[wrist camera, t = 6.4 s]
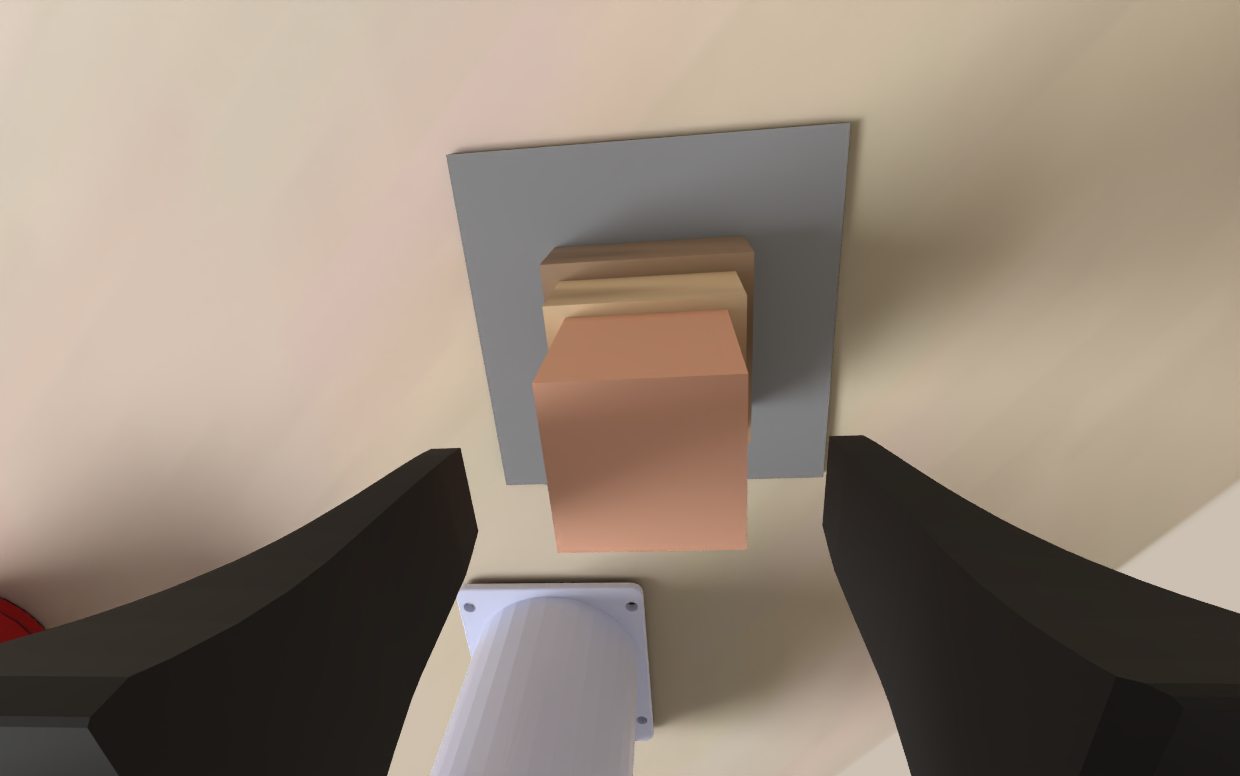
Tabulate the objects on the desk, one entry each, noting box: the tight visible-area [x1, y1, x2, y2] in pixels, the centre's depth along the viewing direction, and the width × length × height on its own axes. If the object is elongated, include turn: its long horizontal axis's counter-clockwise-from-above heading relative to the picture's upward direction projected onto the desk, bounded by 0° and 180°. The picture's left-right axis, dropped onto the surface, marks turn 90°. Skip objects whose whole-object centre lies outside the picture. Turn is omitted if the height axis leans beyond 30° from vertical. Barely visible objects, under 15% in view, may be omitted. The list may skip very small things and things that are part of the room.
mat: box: [446, 123, 851, 485], centre depth 20 cm, size 12×12×1 cm
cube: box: [532, 309, 748, 553], centre depth 14 cm, size 4×4×4 cm
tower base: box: [539, 236, 754, 443], centre depth 19 cm, size 6×6×2 cm
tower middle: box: [542, 271, 747, 365], centre depth 17 cm, size 5×5×2 cm
